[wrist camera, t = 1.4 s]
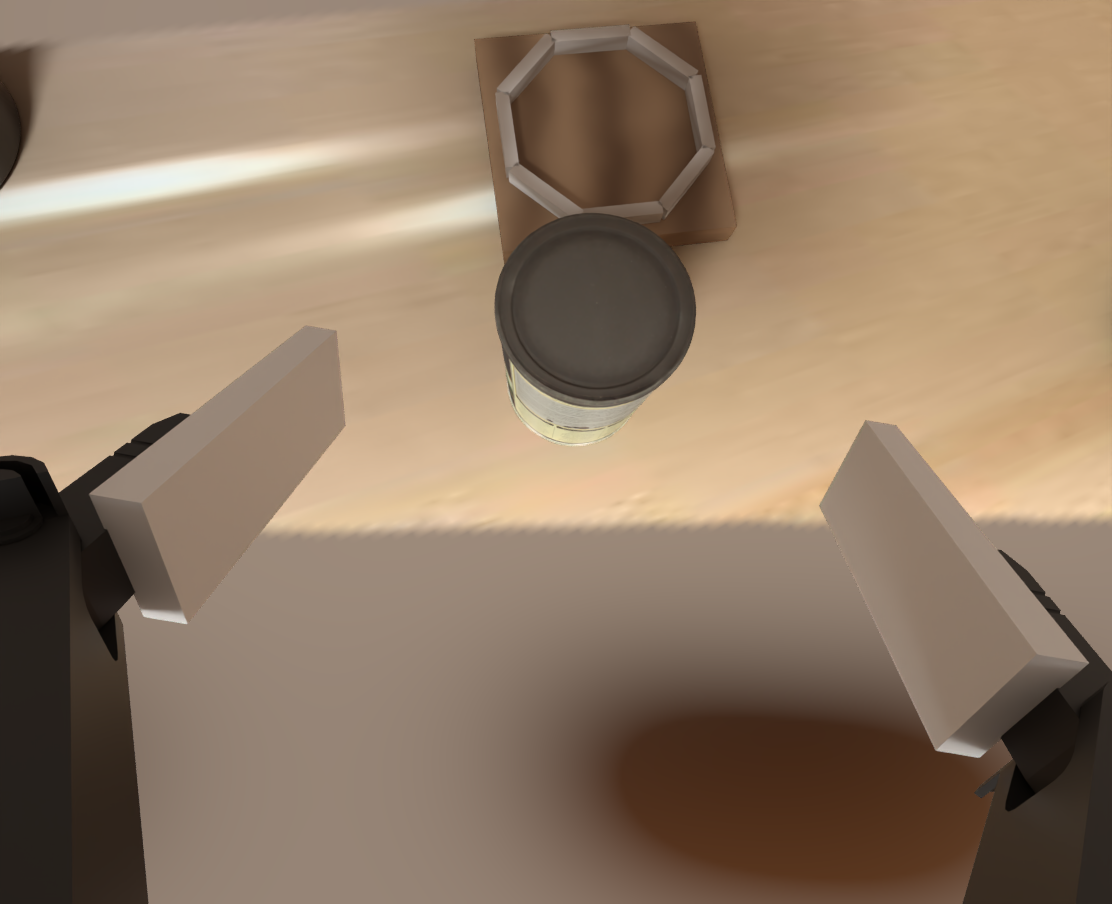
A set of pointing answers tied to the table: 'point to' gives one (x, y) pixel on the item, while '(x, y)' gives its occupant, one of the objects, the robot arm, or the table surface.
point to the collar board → (604, 131)
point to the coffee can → (590, 324)
